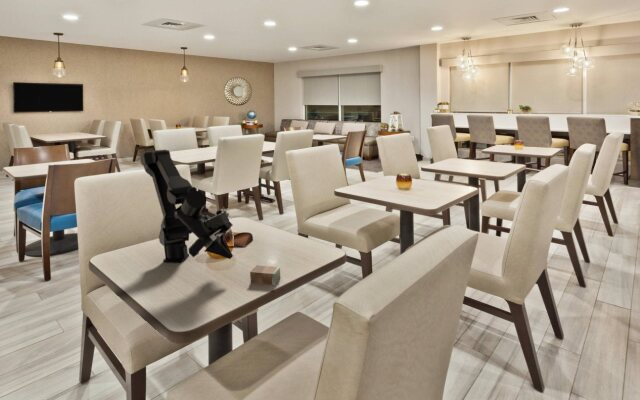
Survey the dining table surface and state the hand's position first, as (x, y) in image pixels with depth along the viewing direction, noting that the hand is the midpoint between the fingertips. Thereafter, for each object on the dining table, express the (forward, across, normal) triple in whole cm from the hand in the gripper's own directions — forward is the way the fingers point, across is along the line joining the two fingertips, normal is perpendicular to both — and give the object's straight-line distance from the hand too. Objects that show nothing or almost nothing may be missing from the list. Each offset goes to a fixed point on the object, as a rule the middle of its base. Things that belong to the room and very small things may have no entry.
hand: (231, 257), depth 125 cm
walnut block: (+8, 0, -2) cm, 8 cm away
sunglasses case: (-6, +28, +16) cm, 33 cm away
